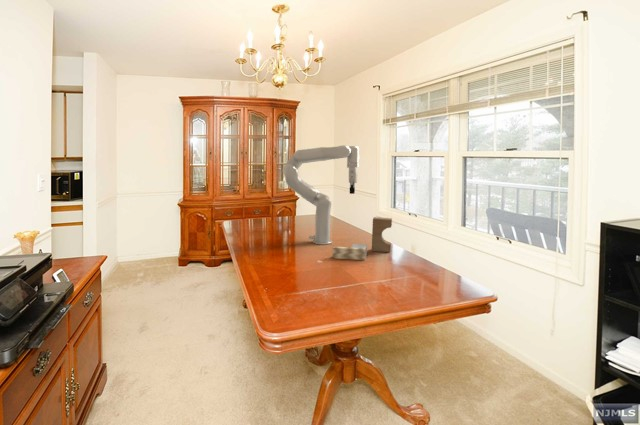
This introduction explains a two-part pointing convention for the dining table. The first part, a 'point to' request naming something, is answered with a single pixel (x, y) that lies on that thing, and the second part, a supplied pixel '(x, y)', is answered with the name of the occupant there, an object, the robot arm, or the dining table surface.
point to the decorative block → (380, 234)
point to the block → (361, 247)
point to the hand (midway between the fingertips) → (352, 193)
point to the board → (349, 253)
